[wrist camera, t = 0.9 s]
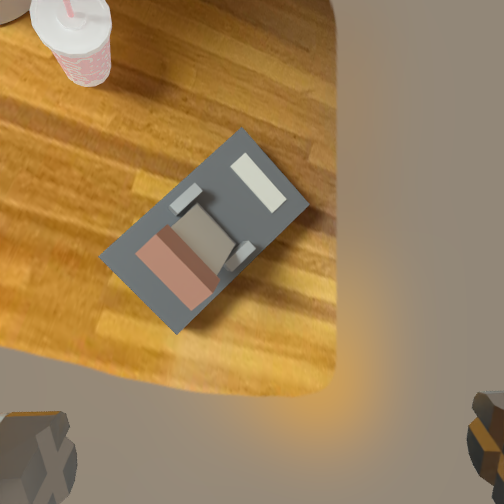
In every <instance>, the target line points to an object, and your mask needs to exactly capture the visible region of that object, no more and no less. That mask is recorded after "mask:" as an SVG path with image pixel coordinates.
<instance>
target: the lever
mask: <svg viewBox="0 0 504 504" xmlns="http://www.w3.org/2000/svg"><path fill="white" fill-rule="evenodd" d="M235 245H236V243H235V242H234V241H233V240H232V239H231V238H230V237H229V236H228V235H227V233H226V232H225V231H224V230H223V229H222V228H221V227H220V226H219V225H218V224H217V223H216V222H215V221H214V219H213V218H212V217H211V216H210V215H209V214H208V213H207V212H206V211H205V210H204V209H203V208H202V207H201V206H200V204H199V203H198V202H197V203H196V204H195V205H194V206H193V207H192V208H191V209H189V210H188V211H187V212H186V214H185V215H184V216H183V217H182V218H181V219H179V220H178V221H177V222H176V223H175V224H174V225H173V226H171V227H170V226H169V225H168V224H167V225H166V226H165V227H164V228H162V229H161V230H160V231H159V232H158V233H157V234H155V235H154V236H153V237H152V238H151V239H150V240H149V241H148V242H147V243H146V244H145V245H144V246H143V247H142V248H141V249H139V250H138V251H137V252H136V253H135V254H136V255H137V256H138V257H139V258H140V259H141V260H142V261H143V262H144V263H145V264H146V265H147V267H148V268H149V269H150V270H151V271H152V272H153V273H154V274H155V275H156V276H157V277H158V278H159V279H160V280H161V281H162V282H163V283H164V284H165V285H166V286H167V287H168V288H169V289H170V290H171V291H172V292H173V293H174V294H175V295H176V296H177V297H178V298H179V299H180V300H181V301H182V302H183V303H184V304H185V305H186V306H187V307H188V308H189V309H190V310H191V311H192V310H193V309H194V308H196V307H197V306H198V305H199V304H200V303H202V302H203V301H204V300H205V299H207V298H208V297H209V296H210V295H211V294H213V292H214V290H215V289H216V287H217V285H218V283H219V281H220V279H219V278H218V276H217V275H218V273H219V271H220V269H221V268H222V266H223V264H224V263H225V261H226V259H227V258H228V256H229V254H230V252H231V251H232V249H233V247H234V246H235Z"/></svg>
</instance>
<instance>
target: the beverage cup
mask: <svg viewBox="0 0 504 504" xmlns="http://www.w3.org/2000/svg"><path fill="white" fill-rule="evenodd" d="M30 16H31V22H32V26H33V28H34V29H35V31H36V33H37V34H38V36H39V37H40V39H41V41H42V42H43V44H45V45H46V46H47V47H48V48H50V49H51V51H52V52H53V54H54V56H55V57H56V59H57V60H58V62H59V64H60V65H61V67H62V68H63V70H64V72H65V73H66V75H67V76H68V78H69V79H70V80H72V81H73V82H74V83H76V84H78V85H81V86H84V87H92V86H97V85H99V84H101V83H103V82H104V81H105V80H106V78H107V77H108V76H109V73H110V69H111V57H110V33H111V29H112V21H111V15H110V9H109V6H108V4H107V3H106V1H105V0H32V2H31V6H30Z"/></svg>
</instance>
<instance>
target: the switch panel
mask: <svg viewBox="0 0 504 504" xmlns="http://www.w3.org/2000/svg"><path fill="white" fill-rule="evenodd" d="M197 202H198V203H199V204H200V206H201V207H202V208H203V209H204V210H205V211H206V212H207V213H208V214H209V215H210V216H211V217H212V218H213V219H214V221H215V222H216V223H217V224H218V225H219V226H220V227H221V228H222V229H223V230H224V231H225V232H226V233H227V235H228V236H229V237H230V238H231V239H232V240H233V241H234V242H235V243H236V245H235V246H234V247H233V249H232V251H231V252H230V254H229V256H228V258H227V259H226V261H225V263H224V264H223V266H222V268H221V269H220V271H219V273H218V275H217V276H218V278H219V279H220V281H219V283H218V285H217V287H216V289H215V290H214V292H213V294H211V295H210V296H209V297H208V298H207V299H205V300H204V301H203V302H202V303H200V304H199V305H198V306H197V307H196V308H194V309H193V310H192V311H191V310H190V309H189V308H188V307H187V306H186V305H185V304H184V303H183V302H182V301H181V300H180V299H179V298H178V297H177V296H176V295H175V294H174V293H173V292H172V291H171V290H170V289H169V288H168V287H167V286H166V285H165V284H164V283H163V282H162V281H161V280H160V279H159V278H158V277H157V276H156V275H155V274H154V273H153V272H152V271H151V270H150V269H149V268H148V267H147V265H146V264H145V263H144V262H143V261H142V260H141V259H140V258H139V257H138V256H137V255H136V254H135V253H136V252H137V251H138V250H139V249H141V248H142V247H143V246H144V245H145V244H146V243H147V242H148V241H149V240H150V239H151V238H152V237H153V236H154V235H155V234H157V233H158V232H159V231H160V230H161V229H162V228H164V227H165V226H166V225H167V224H168V225H169V226H170V227H171V226H173V225H174V224H175V223H176V222H177V221H178V220H179V219H181V218H182V217H183V216H184V215H185V214H186V212H187V211H188V210H189V209H191V208H192V207H193V206H194V205H195V204H196V203H197ZM309 205H310V204H309V203H308V202H307V201H306V200H305V198H304V197H303V196H302V195H301V194H300V193H299V192H298V190H297V189H296V188H295V187H294V186H293V185H292V184H291V182H290V181H289V180H288V179H287V178H286V177H285V176H284V174H283V173H282V172H281V171H280V170H279V169H278V168H277V167H276V165H275V164H274V163H273V162H272V161H271V160H270V159H269V157H268V156H267V155H266V154H265V153H264V152H263V151H262V149H261V148H260V147H259V146H258V145H257V144H256V143H255V141H254V140H253V139H252V138H251V137H250V136H249V135H248V133H247V132H246V131H245V130H244V129H243V128H242V127H241V128H240V129H239V130H238V131H237V132H236V133H235V134H234V135H232V136H231V137H230V138H229V139H228V140H227V141H226V142H225V143H224V144H222V145H221V146H220V147H219V148H218V149H217V150H216V151H215V152H214V153H212V154H211V155H210V156H209V157H208V158H207V159H206V160H205V161H204V162H203V163H201V164H200V165H199V166H198V167H197V168H196V169H195V170H194V171H193V172H191V173H190V174H189V175H188V176H187V177H186V178H185V179H184V180H183V181H181V182H180V183H179V184H178V185H177V186H176V187H175V188H174V189H173V190H172V191H170V192H169V193H168V194H167V195H166V196H165V197H164V198H163V199H162V200H160V201H159V202H158V203H157V204H156V205H155V206H154V207H153V208H152V209H150V210H149V211H148V212H147V213H146V214H145V215H144V216H143V217H142V218H140V219H139V220H138V221H137V222H136V223H135V224H134V225H133V226H132V227H131V228H129V229H128V230H127V231H126V232H125V233H124V234H123V235H122V236H121V237H119V238H118V239H117V240H116V241H115V242H114V243H113V244H112V245H111V246H109V247H108V248H107V249H106V250H105V251H104V252H103V253H102V254H101V255H100V256H98V257H99V258H100V259H101V260H102V261H103V262H104V263H105V264H106V265H107V266H108V267H109V268H110V269H111V270H112V271H113V272H114V273H115V274H116V275H117V276H118V277H119V278H120V279H121V280H122V281H123V282H124V283H125V284H126V285H127V286H128V287H129V288H130V289H131V290H132V291H133V292H134V293H135V294H136V295H137V296H138V297H139V298H140V299H141V300H142V301H143V302H144V303H145V304H146V305H147V306H148V307H149V308H150V309H151V310H152V311H153V312H154V313H155V314H156V315H157V316H158V317H159V318H160V319H161V320H162V321H163V322H164V323H165V324H166V325H167V326H168V327H169V328H170V329H171V330H172V331H173V332H174V333H175V334H176V335H177V334H178V333H179V332H180V331H181V330H182V329H183V328H184V327H185V326H186V325H187V324H188V323H189V322H191V321H192V320H193V319H194V318H195V317H196V316H197V315H198V314H199V313H200V312H201V311H202V310H203V309H204V308H205V307H206V306H207V305H208V304H209V303H210V302H211V301H212V300H213V299H214V298H215V297H216V296H217V295H218V294H219V293H220V292H221V291H222V290H223V289H224V288H225V287H226V286H227V285H228V284H229V283H230V282H231V281H232V280H233V279H234V278H235V277H236V276H237V275H238V274H239V273H240V272H241V271H242V270H243V269H244V268H245V267H247V266H248V265H249V264H250V263H251V262H252V261H253V260H254V259H255V258H256V257H257V256H258V255H259V254H260V253H261V252H262V251H263V250H264V249H265V248H266V247H267V246H268V245H269V244H270V243H271V242H272V241H273V240H274V239H275V238H276V237H277V236H278V235H279V234H280V233H281V232H282V231H283V230H284V229H285V228H286V227H287V226H288V225H289V224H290V223H291V222H292V221H293V220H294V219H295V218H296V217H297V216H298V215H299V214H300V213H301V212H303V211H304V210H305V209H306V208H307V207H308V206H309Z"/></svg>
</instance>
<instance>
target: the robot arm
mask: <svg viewBox="0 0 504 504" xmlns="http://www.w3.org/2000/svg"><path fill="white" fill-rule="evenodd" d="M31 2H32V0H0V25H1V24H4V23H7V22H10V21H12V20H14V19H16V18H18V17H20V16H22V15H23V14H24V13H26V12H27V11H28V10H30V6H31ZM472 409H473V410H474V412H475V414H476V415H477V418H476V419H475V420H474V421H473V422H472V423H471V424H470V425H469V426H468V433H467V446H468V452H469V456H470V458H471V461H472V463H473V466H474V468H475V469H476V471H477V473H478V474H479V476H480V477H482V478H483V479H484V480H486V481H487V482H488V483H490V484H491V485H493V486H494V487H493V492H492V499H493V500H494V502H495V504H504V391H486V392H478V393H477V394H476V396H475V397H474V400H473V404H472ZM69 428H70V425H69V422H68V419H67V415H66V413H63V412H61V411H48V412H12V413H0V504H60V503H61V502H62V501H63V500H64V499H65V498H66V497H68V496H69V494H70V492H71V489H72V487H73V484H74V481H75V476H76V470H77V452H76V448H75V444H74V443H73V442H72V441H71V440H69V439H68V438H67V437H66V434H67V432H68V430H69Z"/></svg>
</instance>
